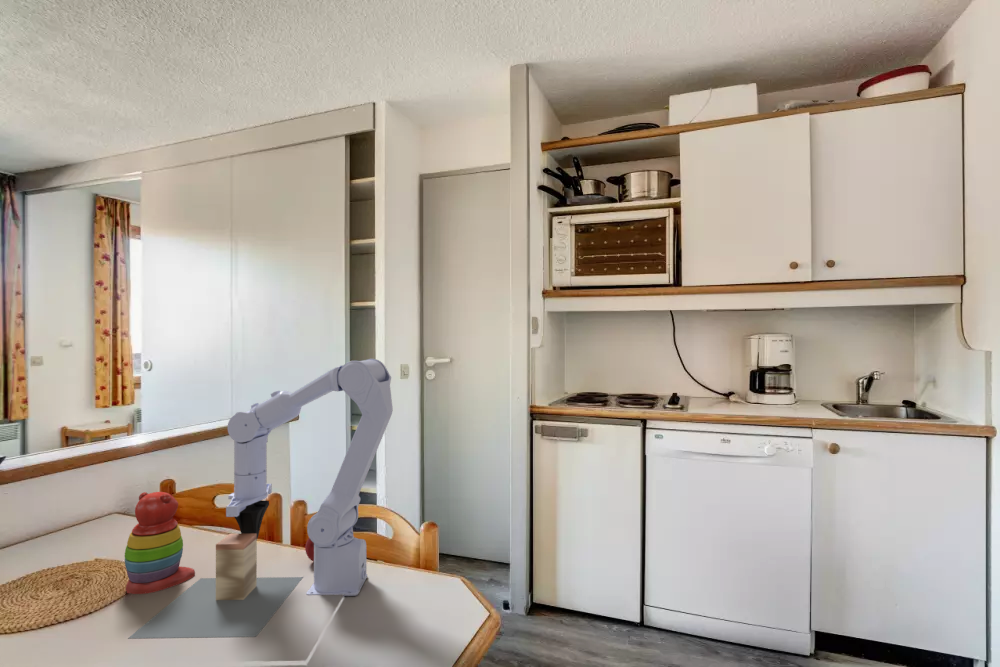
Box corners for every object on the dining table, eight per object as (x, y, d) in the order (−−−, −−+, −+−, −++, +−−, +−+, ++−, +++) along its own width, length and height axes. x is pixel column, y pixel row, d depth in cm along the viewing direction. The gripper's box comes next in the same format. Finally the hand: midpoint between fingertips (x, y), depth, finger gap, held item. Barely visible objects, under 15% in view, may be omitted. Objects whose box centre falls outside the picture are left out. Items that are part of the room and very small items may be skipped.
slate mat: (303, 579, 100) (303, 577, 100) (255, 639, 80) (255, 636, 80) (200, 580, 100) (200, 578, 100) (127, 641, 80) (127, 638, 80)
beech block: (256, 586, 96) (256, 533, 97) (243, 599, 91) (243, 544, 92) (229, 586, 96) (230, 533, 96) (215, 600, 91) (215, 544, 91)
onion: (325, 571, 104) (325, 532, 104) (299, 568, 105) (299, 530, 105) (339, 559, 109) (339, 522, 109) (315, 556, 110) (315, 520, 111)
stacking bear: (200, 575, 102) (200, 486, 102) (154, 600, 92) (154, 502, 92) (158, 569, 105) (158, 483, 105) (108, 593, 95) (109, 497, 95)
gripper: (247, 462, 107) (247, 527, 107) (209, 482, 92) (209, 557, 92) (281, 462, 107) (281, 527, 107) (248, 482, 92) (248, 556, 92)
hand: (250, 541), depth 99 cm, fingers closed
